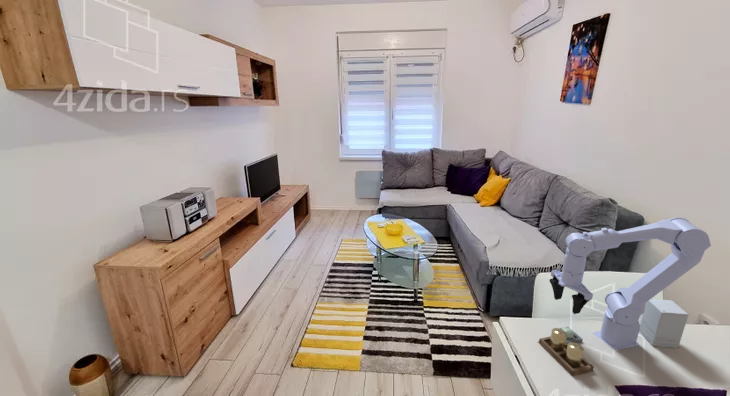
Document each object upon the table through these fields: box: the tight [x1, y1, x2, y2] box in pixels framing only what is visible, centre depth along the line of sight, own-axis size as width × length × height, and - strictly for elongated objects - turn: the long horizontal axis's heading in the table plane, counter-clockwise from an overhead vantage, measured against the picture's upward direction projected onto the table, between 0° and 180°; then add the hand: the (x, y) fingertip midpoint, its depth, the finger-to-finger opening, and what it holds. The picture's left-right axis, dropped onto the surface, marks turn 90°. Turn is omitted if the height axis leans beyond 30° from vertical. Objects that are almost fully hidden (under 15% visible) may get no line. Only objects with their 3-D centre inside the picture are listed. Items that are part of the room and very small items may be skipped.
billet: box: [565, 342, 585, 369], centre depth 93 cm, size 4×4×6 cm
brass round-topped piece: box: [549, 327, 567, 352], centre depth 99 cm, size 4×4×6 cm
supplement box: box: [639, 298, 689, 349], centre depth 101 cm, size 7×7×13 cm
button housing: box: [559, 326, 583, 344], centre depth 105 cm, size 6×6×2 cm
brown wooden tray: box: [537, 335, 595, 377], centre depth 97 cm, size 8×14×2 cm, turn 12°
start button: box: [561, 326, 575, 340], centre depth 104 cm, size 4×4×2 cm
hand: (566, 305), depth 105 cm, fingers open, 7 cm apart
